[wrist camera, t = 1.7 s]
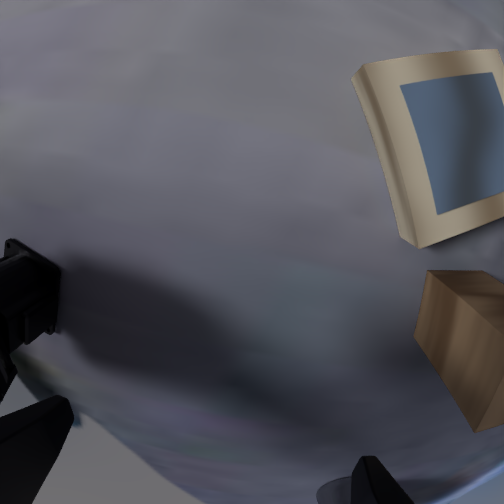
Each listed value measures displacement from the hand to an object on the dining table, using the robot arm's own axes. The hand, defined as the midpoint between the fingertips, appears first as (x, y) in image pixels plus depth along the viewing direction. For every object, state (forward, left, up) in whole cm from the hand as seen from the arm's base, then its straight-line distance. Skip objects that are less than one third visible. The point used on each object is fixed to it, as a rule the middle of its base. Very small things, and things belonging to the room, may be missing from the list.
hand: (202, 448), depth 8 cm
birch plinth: (+8, +14, -13) cm, 20 cm away
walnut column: (+14, +4, -13) cm, 19 cm away
